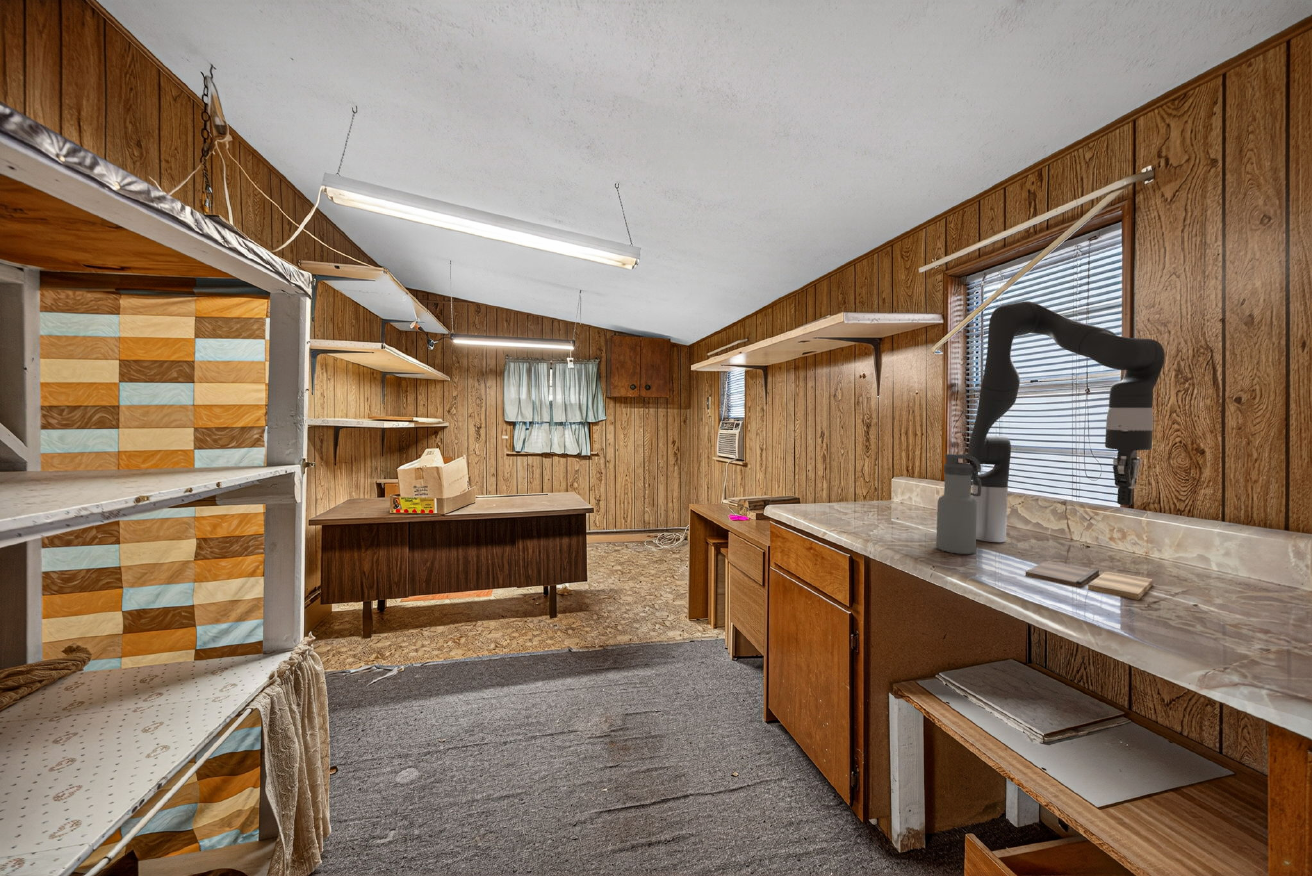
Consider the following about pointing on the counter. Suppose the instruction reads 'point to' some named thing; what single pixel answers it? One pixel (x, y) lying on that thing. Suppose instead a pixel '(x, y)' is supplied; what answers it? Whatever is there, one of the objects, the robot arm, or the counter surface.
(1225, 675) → the counter surface
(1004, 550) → the counter surface
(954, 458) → the water bottle
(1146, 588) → the oak plank
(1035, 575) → the walnut board
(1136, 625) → the counter surface
